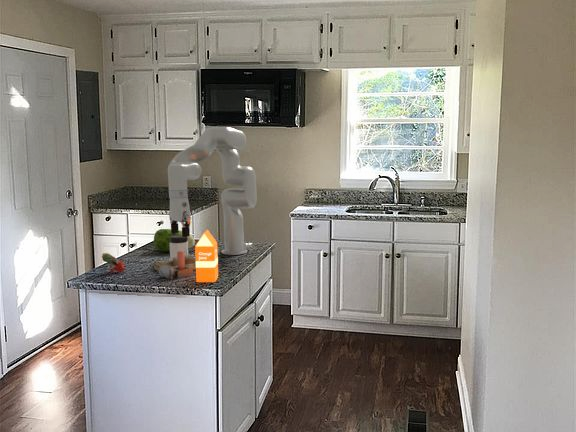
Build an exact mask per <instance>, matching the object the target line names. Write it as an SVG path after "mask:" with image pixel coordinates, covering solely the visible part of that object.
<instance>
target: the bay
mask: <svg viewBox="0 0 576 432" xmlns="http://www.w3.org/2000/svg"><path fill="white" fill-rule="evenodd" d="M162 265H168V266H170V267H173V261H170V260H168V261H167V260H166V261H162V262H161V261H160V262H156V263H155V262H154V263H153V269H154V270H156V271H158V272H159V268H160V266H162ZM185 266H187V267H190V268H193V270H196V262H195V263H192V264H186V265H185ZM174 267H178V266H174ZM174 267H173V268H174Z"/></svg>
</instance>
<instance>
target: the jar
mask: <svg viewBox="0 0 576 432" xmlns="http://www.w3.org/2000/svg"><path fill="white" fill-rule="evenodd" d="M178 251H184V256H189V248H188V238H187V237H182V235H172V236H170V252H169V257H170V258H169V261H173V258H174V257H177V252H178Z"/></svg>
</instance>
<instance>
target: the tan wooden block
mask: <svg viewBox="0 0 576 432" xmlns="http://www.w3.org/2000/svg"><path fill="white" fill-rule="evenodd" d="M192 263H196V258H195V257H193V256H191V255H188V256H185V265H186V264H192ZM174 266H178V263H177V257H174V258H173V267H174Z"/></svg>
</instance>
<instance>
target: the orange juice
mask: <svg viewBox="0 0 576 432" xmlns="http://www.w3.org/2000/svg"><path fill="white" fill-rule="evenodd" d="M194 246H195V247H194V248H195V249H194V252H195V253H194V254H195V263H196V269H195V277H196V283H215V282H216V281H217V280H218V277H219V256H218V255H219V254H218V241H217V240H216V239H215V237H214V236H213V235H212V234H211V233H210V231H209V229H206V230H205V232H203V233H202V235H201V237H200V239H199V240H198V242H197V243H196V244H195V245H194Z"/></svg>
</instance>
